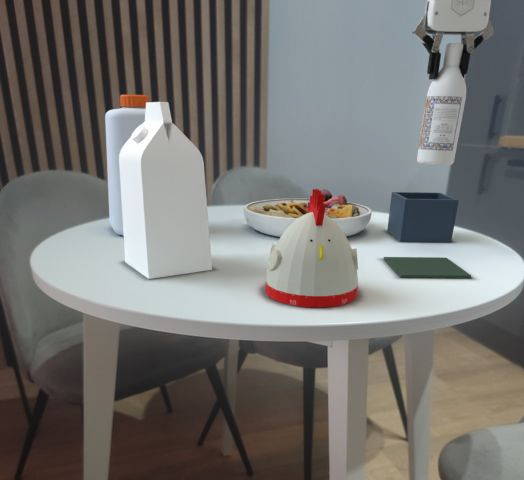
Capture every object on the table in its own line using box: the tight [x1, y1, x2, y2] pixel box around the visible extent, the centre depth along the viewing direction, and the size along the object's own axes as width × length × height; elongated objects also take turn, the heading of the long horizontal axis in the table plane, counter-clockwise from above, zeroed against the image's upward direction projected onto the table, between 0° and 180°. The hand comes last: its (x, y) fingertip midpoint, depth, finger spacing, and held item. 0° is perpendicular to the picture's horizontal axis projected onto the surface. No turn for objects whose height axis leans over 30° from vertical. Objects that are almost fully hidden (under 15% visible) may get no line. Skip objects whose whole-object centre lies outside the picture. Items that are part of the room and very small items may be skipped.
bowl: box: [243, 188, 372, 238], centre depth 118 cm, size 30×30×8 cm
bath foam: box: [416, 42, 467, 166], centre depth 92 cm, size 7×7×20 cm
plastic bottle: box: [104, 94, 150, 237], centre depth 110 cm, size 15×15×28 cm
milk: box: [119, 101, 213, 280], centre depth 83 cm, size 12×12×26 cm
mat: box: [383, 256, 472, 279], centre depth 89 cm, size 12×12×1 cm
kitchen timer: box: [265, 188, 359, 308], centre depth 73 cm, size 14×14×15 cm
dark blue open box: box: [386, 191, 460, 243], centre depth 112 cm, size 11×11×9 cm
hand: (446, 77), depth 90 cm, fingers closed on bath foam, 4 cm apart
